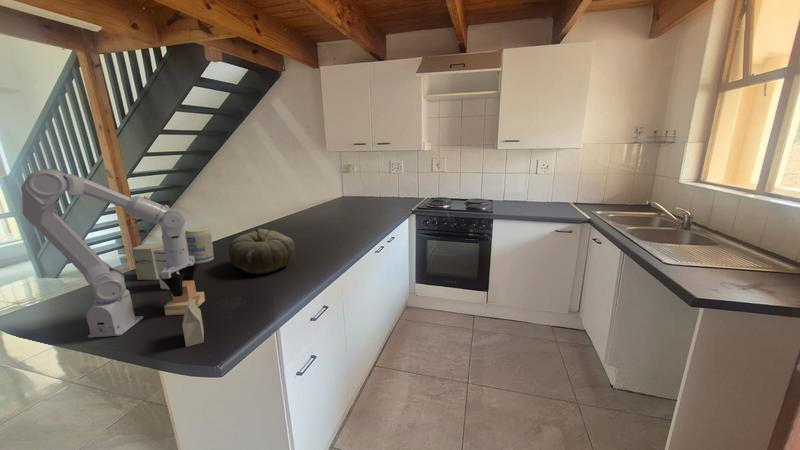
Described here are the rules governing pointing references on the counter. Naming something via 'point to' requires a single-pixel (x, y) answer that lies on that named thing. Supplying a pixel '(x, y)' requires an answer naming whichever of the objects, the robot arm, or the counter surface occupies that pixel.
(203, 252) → the supplement tub
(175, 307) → the beech block
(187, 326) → the tea bag
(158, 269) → the syrup box
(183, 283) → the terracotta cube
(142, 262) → the supplement box
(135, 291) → the counter surface
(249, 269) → the gourd
